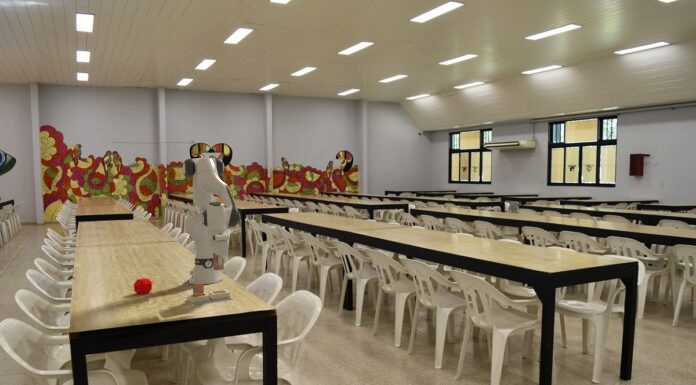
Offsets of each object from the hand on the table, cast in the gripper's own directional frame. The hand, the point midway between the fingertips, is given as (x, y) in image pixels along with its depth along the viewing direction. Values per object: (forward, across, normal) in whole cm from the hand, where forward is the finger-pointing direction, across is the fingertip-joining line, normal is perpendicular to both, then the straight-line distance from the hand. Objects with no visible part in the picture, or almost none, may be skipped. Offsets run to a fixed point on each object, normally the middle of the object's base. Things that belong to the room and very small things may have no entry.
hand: (218, 263), depth 238 cm
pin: (+16, 0, -10) cm, 19 cm away
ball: (+17, -38, -29) cm, 51 cm away
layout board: (+18, 0, -5) cm, 18 cm away
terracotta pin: (+3, 0, 0) cm, 3 cm away
